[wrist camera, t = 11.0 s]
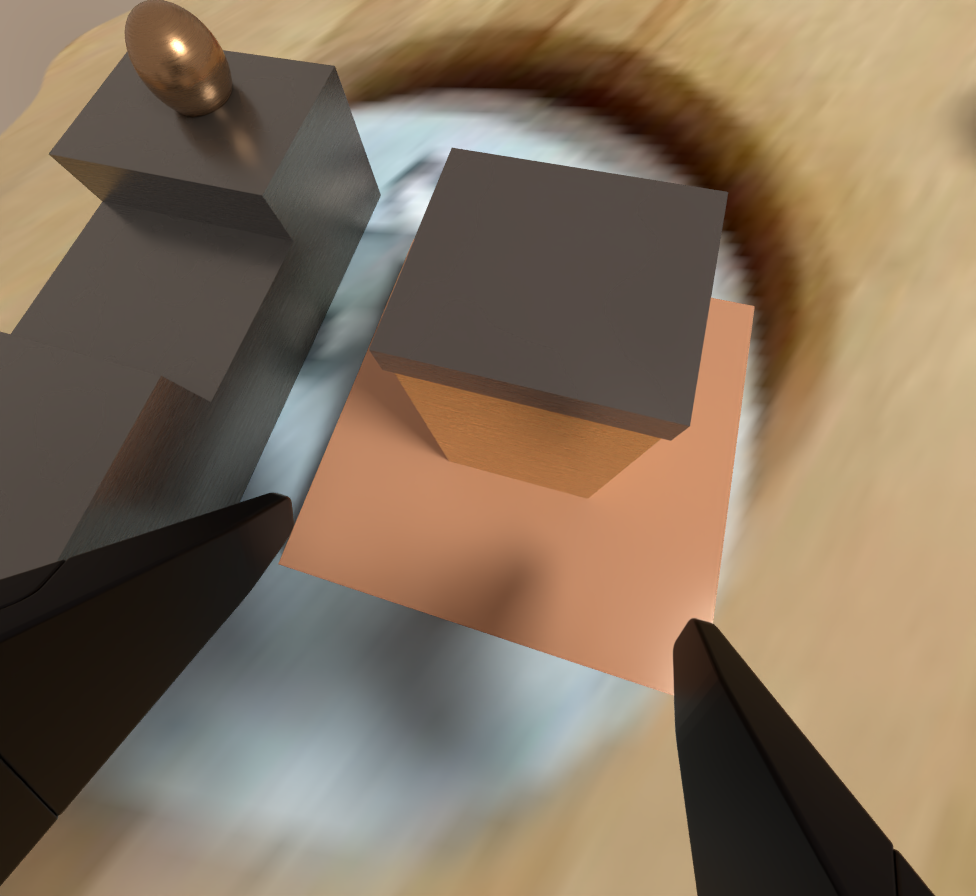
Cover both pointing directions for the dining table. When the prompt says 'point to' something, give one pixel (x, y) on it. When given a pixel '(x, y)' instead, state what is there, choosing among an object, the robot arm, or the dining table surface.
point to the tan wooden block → (553, 316)
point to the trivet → (533, 525)
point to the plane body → (176, 289)
